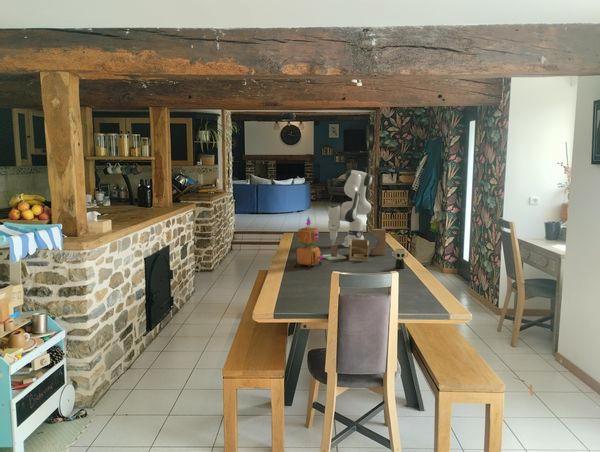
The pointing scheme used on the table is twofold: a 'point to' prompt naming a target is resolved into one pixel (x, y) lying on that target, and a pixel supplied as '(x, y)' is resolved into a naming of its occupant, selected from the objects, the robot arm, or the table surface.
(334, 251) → the walnut block
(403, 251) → the character mug
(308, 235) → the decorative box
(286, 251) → the table surface
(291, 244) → the table surface
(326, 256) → the sage board
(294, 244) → the table surface
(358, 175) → the robot arm
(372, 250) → the decorative block
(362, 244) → the oak cubby
